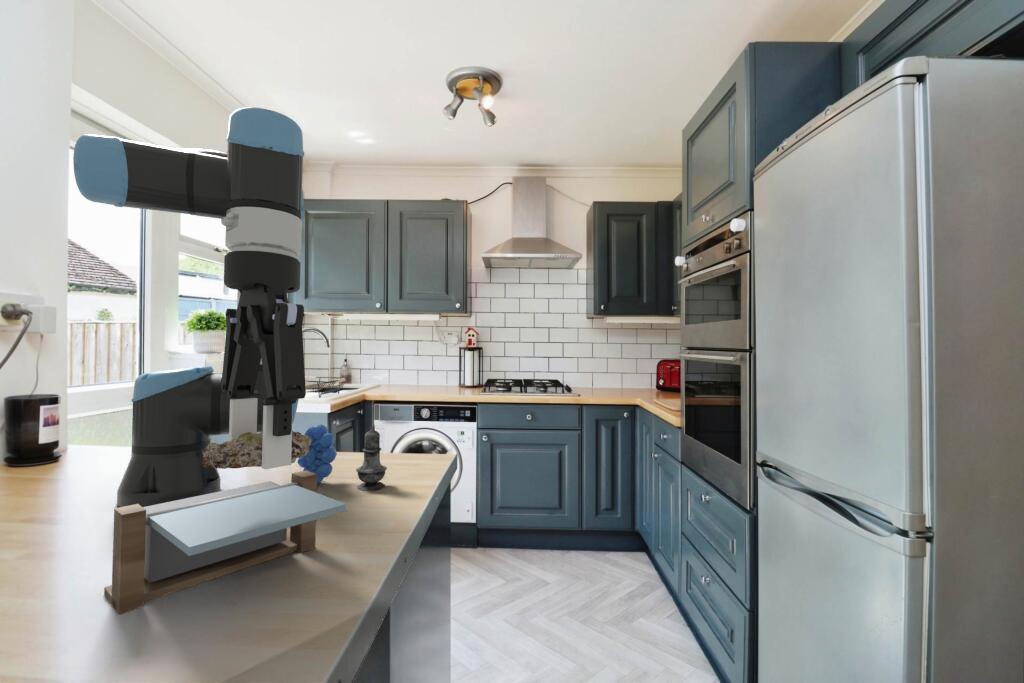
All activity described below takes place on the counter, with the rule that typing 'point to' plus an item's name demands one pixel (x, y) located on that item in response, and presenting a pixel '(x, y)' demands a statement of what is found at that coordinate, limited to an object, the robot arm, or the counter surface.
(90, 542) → the counter surface
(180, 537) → the trapdoor
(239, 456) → the mineral rock
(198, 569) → the frame
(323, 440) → the grapes
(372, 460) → the salt shaker
